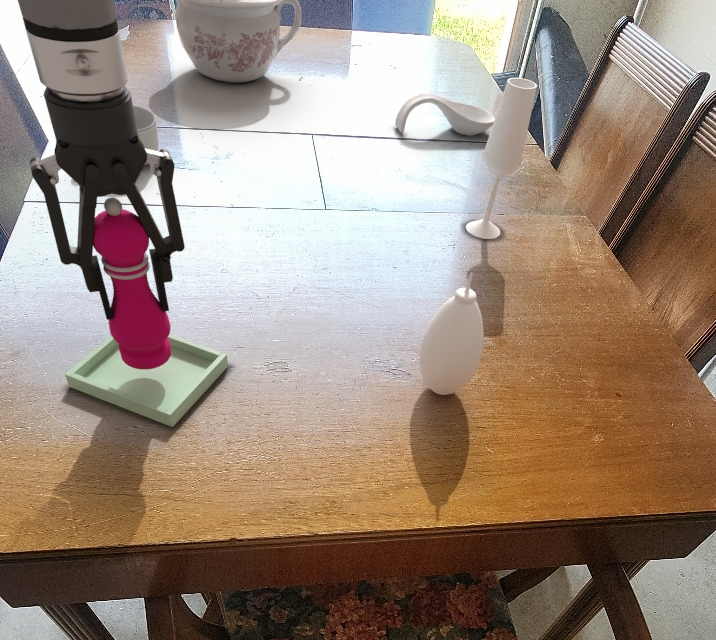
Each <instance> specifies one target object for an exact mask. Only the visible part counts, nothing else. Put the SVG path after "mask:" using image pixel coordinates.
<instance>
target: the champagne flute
mask: <svg viewBox="0 0 716 640" xmlns="http://www.w3.org/2000/svg"><path fill="white" fill-rule="evenodd" d="M537 87H538V85H537V83H535V82H534V81H532V80H530V79H527V78H522V77H511V78H508V79H507V81H506V84H505V88H504V90H503V93H502V96H501V99H500V102H499V105H498V108H497V111H496V115H495V116H494V117H495V120H494V123H493V125H492V126H491V129H490V133H489V136H488V139H487V141H486V144H485V148H484V151H483V161H484V164H485V166H486V168H487V170H488V171H489V173H490V175H491V176H493V179H492V183H491V185H490V189H489V194H488V197H487V202H486V206H485V210H484V213H483V217H482V218H481V219H477V220H474V221H470V222H468V223H467V224H466V226H465V230H466V231H467V232H468V233H469V234H470V235H472V236H474V237H475V238H479V239H484V240H493V239H496V238H499V237H500V236H501V230H500V229H499V227H498V226H497V225H495V224H494V223H493V222H492V221H490V218H491V214H492V211H493V207H494V203H495V199H496V196H497V193H498V189H499V185H500V181H501V178H504V177H506V176H508V175H509V174H511V173H512V172H515V170H516V169H518V167H519V166H520V165H521V163H522V161H523V156H524V151H525V147H526V141H527V137H528V132H529V128H530V127H529V126H530V122H531V116H532V111H533V106H534V102H535V97H536V93H537Z"/></svg>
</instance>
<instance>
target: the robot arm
mask: <svg viewBox="0 0 716 640" xmlns="http://www.w3.org/2000/svg"><path fill="white" fill-rule="evenodd" d="M17 3H18V6H19V7H18V8H19V9H20V13H21V17H22V20H23V24H24V28H25V32H26V35H27V39H28V43H29V47H30V50H31V53H32V58H33V60H34V63H35V64H34V65H35V68H36V72H37V75H38V78H39V82H40V83H41V84H42V85H43V86H44V87H45V89H44V92H43V98H44V101H45V105H46V109H47V112H48V116H49V120H50V123H51V126H52V131H53V133H54V138H55V147H54V152H53V153H54V154H52V155H50V156H47V157H45V158H42V159H40V158H39V157H36V156H34V157H32V158H30V160H29V166H30V171H31V177H32V178H33V180H34V181H35V183H36V184H37V186H38V187H39V189H40V190H41V193H43V197H44V199H45V200H44V201H45V204H46V209H47V212H48V217H49V220H50V225H51V227H52V228H51V229H52V232H53V236H54V240H55V244H56V248H57V252H58V256H59V260H60V262H61V263H62V264H63V265H66V266H69V265H71V264H73V265H76V266H79V267H80V269H81V272H82V275H83V279H84V282H85V287H86V289H87V290H88V292H89V293H97V292H99V296H100V300H101V304H102V307H103V311H104V314H105V318H106V321H109V319H113V315H112V311H111V304H110V299H109V296H108V293H107V288H106V285H105V282H104V277H103V274H102V270H101V266H100V263H99V259H98V255H97V254H95V255H93V252H94V246H93V238H94V223H95V217H96V209H97V203H98V198H101V197H106V196H108V195H115V196H125V195H126V197H127V199H128V201H129V203H130V204H131V206H132V207H133V209H134V211H135V213H136V215H137V216H138V217H139V219H140V221H141V223H142V225H143V227H144V228H145V230H146V232H147V234H148V236H149V241H150V242H151V244H152V246H153V247H154V248H148V253H149V256H150V261H151V262H150V263H151V268H152V273H153V277H154V283H155V288H156V294H157V297H158V298H157V299H158V301H159V302H160V304H161V307H162V311H163V312H165V311H166V312H169V311H170V307H169V301H168V297H167V291H166V285H165V284H166V283H172V282H173V279H174V275H173V270H172V269H173V268H172V264H171V259H172V254H173V253H175V252H179V253H180V252H183V251H184V250H185V242H184V236H183V232H182V226H181V222H180V216H179V211H178V206H177V201H176V196H175V195H176V194H175V191H174V186H173V179H174V172H175V162H174V160H173V158H172V156H171V154H170V152H169V151H168V150H167V149H166V148H161V149H158V152H157V151H153V150H149V149H145V147H144V145H143V144H142V142H141V141H140V139H139V137H138V132H137V126H136V120H135V115H134V109H133V105H134V104H133V99H132V93H131V91H130V90H129V89H128V88H127V86H126V85H127V83H128V81H129V76H128V71H127V66H126V61H125V60H126V59H125V54H124V49H123V44H122V38H121V34H120V33H121V32H120V27H119V23H118V15H117V8H116V3H115V0H17ZM145 163H148V164H147V165H149V168H150V170H151V172H152V175H154V176H155V177H156V181H157V186H158V191H159V194H160V199H161V204H162V208H163V209H162V210H163V214H164V218H165V222H166V223H165V224H166V227H167V232H168V235H167V236H164V237H163V235H162V233H161V231H160V229H159V227H158V224H157V223H156V221H155V219H154V217H153V215H152V213H151V211H150V209H149V207H148V205H147V203H146V201H145V199H144V197H143V196H142V193H141V191H140V189H139V188H138V185H137V181H138V179H139V177H140V175H141V174H142V171H143V169H144V168H145V166H146V165H145ZM144 165H145V166H144ZM61 170H62V171H63V172H64V173H65V174H66V175H67V176H68V177H70V178H71V179H72V180H73V181H74V182H75V183H76V184H77V185H79V189H78V190H79V203H78V205H79V206H78V223H77V242H76V243H77V244H76V246H71V245H70V242H69V237H68V233H67V229H66V225H65V221H64V217H63V216H64V215H63V213H62V208H61V204H60V200H59V195H58V191H57V187H56V185H57V184H58V183H59V182H60V177H59V172H60V171H61Z"/></svg>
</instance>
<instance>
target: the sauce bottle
mask: <svg viewBox="0 0 716 640" xmlns="http://www.w3.org/2000/svg"><path fill="white" fill-rule="evenodd" d="M472 278H473V272H470V274H469V276H468V278H467V281H466V285H465V287H460V288H458V289H457V290H455V292H454V295H453V296H450V298H448V299H447V300H446V301H445V302H444V303H443V304H442V305H441V307H440V308H439V309H438V310H437V311H436V313H435V314H434V315H433V317H432V319H431V321H430V322H429V324H428V326H427V328H426V330H425V332H424V336H423V338H422V342H421V346H420V351H419V368H420V373H421V376H422V379H423V382H424V383H425V385H426V387H428V389H430V390H431V391H432V392H434V393H435V394H437V395H440V396H446V395H452V394H456V393H458V392H459V391H461V390H462V389H463V388H464V387H465V386H467V385H468V384H469V382H470V381H471V380H472V379H473V377H474V376H475V374H476V372H477V370H478V367H479V365H480V362H481V359H482V355H483V349H484V338H485V337H484V336H485V335H484V322H483V316H482V312H481V309H480V307H479V304H478V302H477V293H476V292H475V291H474V290H473V289H472V288H471V285H472V284H471V283H472Z"/></svg>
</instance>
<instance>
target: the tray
mask: <svg viewBox="0 0 716 640" xmlns="http://www.w3.org/2000/svg"><path fill="white" fill-rule="evenodd" d="M168 339H169V342H170V347H171V356H170V358H169V360H168V361H167V362H166V363H165V364H163V365H161V366H160V367H157V368H153V369H136V368H132V367H130V366H128V365H127V364H125V363H124V361H123V360H122V358H121V354H120V351H119V344H118V343H117V342H116V341H115V340H114V339H113V337H112V335H111V334H110V336H109V337H107V338H106V339H105V340H103V342H101V343H100V344H99V345H97V346H96V347H95V348H94V349H93V350H92V351H91V352H89V353H88V354H87V355H86V356H85V357H84V358H82V359H81V360H80V361H79V362H77V363H76V364H75V365H74V366H73V367H72V368H70V369H69V370H67V372H66V373H64V377H65V380H66V382H67V384H68V387H69V388H71V389H73V390H76V391H80V392H82V393H84V394H86V395H89V396H91V397H94V398H97V399H99V400H102V401H104V402H107V403H110V404H111V405H115V406H117V407H120V408H122V409H125V410H127V411H131V412H132V413H135V414H138V415H141V416H142V417H146V418H148V419H150V420H153V421H155V422H158V423H161V424H163V425H166V426H169V427H172V428H173V427H174V426H175V425H176V424H177V423H179V421H180V420H181V419H182V417H183V416H185V415H186V413H187V412H188V411H189V410H190V409H191V408H192V407H193V406H194V404H195V403H196V402H197V401H199V399H200V398H201V397H202V396H203V395H204V393H205V392H206V391H207V390H208V389H210V387H211V386H212V385H213V384H214V383H215V381H216V380H217V379H219V377H220V376H221V375H222V374H223V373H224V372H225V371H226V369H227V368H228V367H229V362H228V354H227V353H224V352H222V351H218V350H216V349H214V348H210V347H208V346H206V345H203V344H199V343H196V342H194V341H191V340H188V339H186V338H182V337H180V336H177V335H175V334H171V333H169V336H168Z"/></svg>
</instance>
